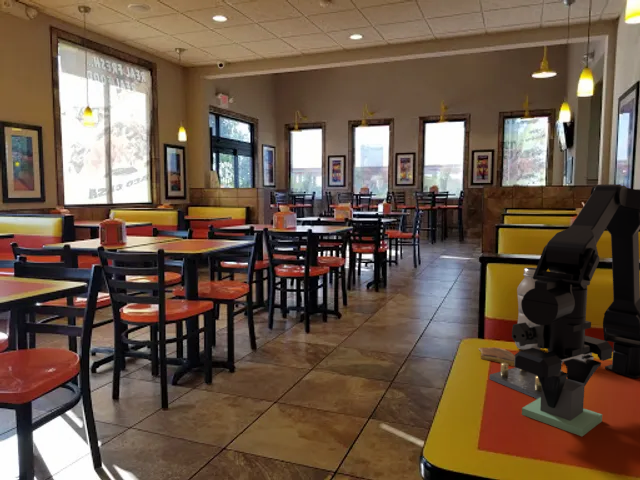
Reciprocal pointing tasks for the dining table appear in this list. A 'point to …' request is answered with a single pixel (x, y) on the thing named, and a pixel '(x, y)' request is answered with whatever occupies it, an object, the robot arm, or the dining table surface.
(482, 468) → the dining table surface
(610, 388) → the dining table surface
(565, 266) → the robot arm
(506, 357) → the shard
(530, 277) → the plastic bottle
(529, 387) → the chassis
